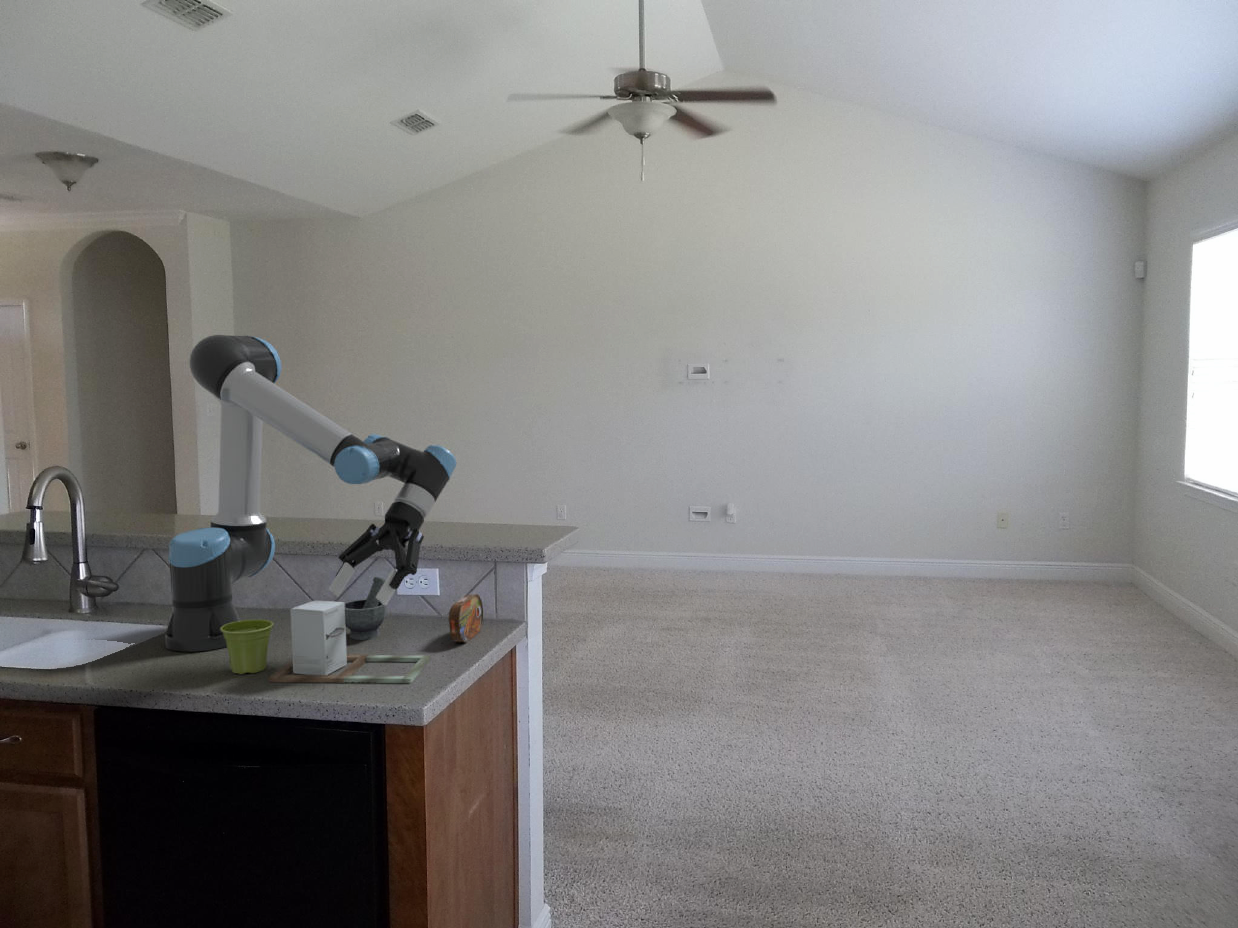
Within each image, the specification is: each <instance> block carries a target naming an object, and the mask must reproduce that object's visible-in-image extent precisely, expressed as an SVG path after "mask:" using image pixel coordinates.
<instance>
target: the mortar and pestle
mask: <svg viewBox="0 0 1238 928" xmlns="http://www.w3.org/2000/svg"><path fill="white" fill-rule="evenodd" d="M372 581H373V583H372V585H371V588H370V590H369V593H368V595H367V597H366V598H364V599H363V598H362V599H355V600H350V601H346V602H344V603H345V627H346V628H347V629H348V630H349V638H351V639H352V640H360V641H362V640H371V639H374V638H377V637H379V635H380V626H382V624H383V622H384V621H385V618H386V616H387V611H388V604H387V605H383V604H382V603H381V602H380V601H379V600H378V599H377V598H376V596H377V594H378V592H379V591H380V589H381V587H382V586H383V584H384V582H385V581H386V579H384V577H381V576H375V577H373V580H372Z"/></svg>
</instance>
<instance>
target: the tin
mask: <svg viewBox="0 0 1238 928" xmlns="http://www.w3.org/2000/svg"><path fill="white" fill-rule="evenodd" d="M483 623H484V607H483V602H482V599H481V597H480V595H479V594H476V593H475V594H467V595H464V596H463V597H461V598H460V599H459V600H458V601H456V602H454V603H453V604H452V606H450V609H449V612H448V625H449V634H450V638H451V640H452V641H453V642H454V643H466V644H467V643H468V642H470V641H471V640H472V639H473V638H474V637H475V636H476V635H478V634H479V633H480V632H481V630H482V627H483Z"/></svg>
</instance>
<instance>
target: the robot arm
mask: <svg viewBox="0 0 1238 928" xmlns="http://www.w3.org/2000/svg"><path fill="white" fill-rule="evenodd" d="M189 369H190V372H191V375H192V376H193V378H194V380H195V381H196V382H197V383H198V384H199V385H200V386H201V387H202V388H204V390H206V391H207V392H209V393H211V395H212V396H214V398H215V399H216V400H217V401H218V402H219V403H220V405H221V406H220V408H221V409H220V413H221V414H220V435H219V436H220V438H219V439H220V441H219V442H220V443H219V446H220V447H219V474H218V475H219V476H218V478H219V481H218V482H219V483H218V508H217V509H218V511H217V513H215V514H214V515H213V516H212V517H211V518H210V527H203V528H196V529H194V530H192V529H191V530H187V531H183V532H181V533H179V534H177V535H175V536H174V537H173V538H171V540H170V542H169V545H168V547H169V548H168V551H169V553H168V559H167V560H168V562H169V573H170V589H171V604H172V605H171V606H172V608H171V609H172V611H171V614H170V617H169V621H168V624H167V627H166V628H167V629H166V631H165V635H164V636H165V637H164V641H165V643H164V644H165V648H166V649H168V650H170V651H176V652H188V653H189V652H202V651H211V650H212V651H213V650H216V649H217V650H218V649H222V648H227V644H226V639H225V638H224V635H223V632H221V630H220V628H221V627H222V626H223V625H225V624H228V623H231V622H236V621H241V619H240V617H239V616H238V613H237V610H236V608H235V605H234V602H233V589H232V588H233V585H232V584H233V583H236V582H238V581H241V580H244V579H247V578H251V577H254V576H255V575H257V574H259V573H260V572H262V571H263V570H265V569H266V568H267V567H268V566H269V565H270V564H271V562H272V560H273V558H274V556H275V551H276V543H275V538H274V535H273V534H272V533H270V530H269V528H267V518H266V517H265V516H264V515H263V514H262V513H261V511H260V510H261V509H260V508H261V507H260V506H261V480H262V479H261V478H262V477H261V475H262V473H261V472H262V453H263V452H262V451H263V450H262V449H263V448H262V447H263V424H264V423H266V424H267V425H268V426H270V427H272V428H273V429H275V430H276V431H278V432H280V433H281V434H283V435H284V436H286V438H289V439H290V440H291V441H293V442H295V443H296V444H298V445H300V446H301V447H302V448H304V449H306V450H307V451H308V452H309V453H310V452H311V453H312V454H313V455H315V457H318V458H319V459H320V460H322V461H324V462H326V463H327V464H329V466H332V467H333V468H334V471H335V473H336V475H337V476H338V478H339V479H340V480H341V481H342V482H343V483H346V484H348V485H363V484H368V483H370V482H371V481H375V480H379V479H384V478H386V477H388V478H391V479H393V480H397V481H399V482H401V483H404V484H403V485H402V487H401V488H400V489H399V491H398V493H397V495H396V496H395V497H394V501H393V502H392V503H391V504H390V506H389V508H388V509H387V511H386V513H385V514H384V523H383V524H382V526H381V527H378V526H377V525H375V523H371V524H370V525H369V527H368V528H367V529H366V530H365V531H364V533H362V535H361V536H359V537H358V538H357V539H356V540H355V541H353V542H352V543H351V544H350V545H349V546H348V547H347V548H346V549H345V550H344V551H343V552H342V553H340V554H339V555H338V559H339V560H340V561H341V562H342V564H341V566H340V568H339V569H338V571H337V573H336V575H335V577H334V578H333V581H332V582H331V584H330V586H329V587H328V591H329V592H330V593H331V594H333V595H334V596H335V597H337V598H339V597H340V595H342V593H343V591H344V589H345V588H346V586H347V584H348V583H349V581H350V579H351V577H352V576H353V575H354V574H355V571H356V569H355V568H356V567H357V566H358V565H359V564H361V563H363V562H364V561H366V560H367V559H369V558H370V557H371V556H373V555H375V553H377V552H382V551H384V550H385V551H388V550H390V551H392V552H393V553H394V558H395V566H394V569H393V568H392V569H391V571H390V572H389V574H388V576H387V578H386V579H385V580H386V581H385V582H384V584H383V586H382V587H381V589H380V591H379V592H378V594H377V596H376V598H377V599H378V600H379V601H380V602H381V603H382V604H383V605H387V606H388V603H389V601H390V599H391V598H392V596H393V594H394V593H395V592H396V590H398V588H400V586H401V583H402V582H403V581H404V579H405V578H406V577H408V576H409V575H412V576H414V575H416V574H417V571H418V565H419V558H420V551H421V545H422V543H423V540H424V538H425V535H423V534H422V532H421V531H420V529H421V527H422V526H423V524H424V521H425V519H426V518H427V517H428V515H429V514H430V512H431V510H432V509H433V507H434V504H435V503H436V501H437V500H438V498H439V497H440V495H441V494H442V492H443V490H444V489H445V487H446V485H447V483H448V482H449V481H450V480H451V476H452V474H453V473H454V471H455V469H456V467H457V460H456V457H455V456H454V454H453V453H452V452H451V451H450V450H448V449H447V448H445V447H443V446H441V445H438V444H437V445H436V444H430V445H428V446H426V448H425V449H423V451H421V450H419V449H415V448H412V447H410V446H407V445H406V444H403V443H400V442H398V441H396V440H393V439H391V438H390V437H388V436H382V435H379V434H375V433H372V434H370V435H367V437H366V438H364V440H362V439H360V438H359V437H357V436H355V435H354V434H352V433H351V432H349V431H348V430H346V429H345V428H344V427H342V426H340V425H339V424H337V423H336V422H334V421H332V420H331V419H330V418H328V417H326V416H325V415H324V414H322V413H320V412H318V411H317V410H316V409H314V408H312V407H311V406H310V405H308V404H306V403H304V401H301V400H300V399H298V398H297V397H296V396H294V395H292V394H291V393H289V392H287V391H286V390H285V389H283V388H282V387H280V386H278V385H277V384H275V383H277V382H278V380H279V378H280V375H281V373H282V361H281V358H280V355H279V354H278V351H277V350H276V348H275V347H273V345H272V344H271V343H270V342H268V341H267V340H265V339H263V338H260V337H256V336H251V335H226V334H215V335H208V336H207V337H205V338H202V339H201V340H199V341H198V342H197V344H196V345H195V346H194V347H193V349H192V350H191V353H190V355H189ZM263 422H264V423H263Z"/></svg>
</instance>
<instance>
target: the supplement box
mask: <svg viewBox="0 0 1238 928" xmlns="http://www.w3.org/2000/svg"><path fill="white" fill-rule="evenodd" d="M345 603H346V602H345V601H344V602H343V601H332V600H317V599H316V600H311V601H309V602H305V603H304V604H300V605H298V606H294V607H293V608H290V626H291V627H290V630H291V631H290V633H291V656H292V660H293V670H292V673H293V674H295V675H331V674H332V673H333V672H335V671H338V670H339V669H341V668H344V667H346V666H347V665H348V661H347V655H348V654H347V653H348V652H347V635H346V633H347V632H346V631H347V630H346V628H347V627H346V626H345Z"/></svg>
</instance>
